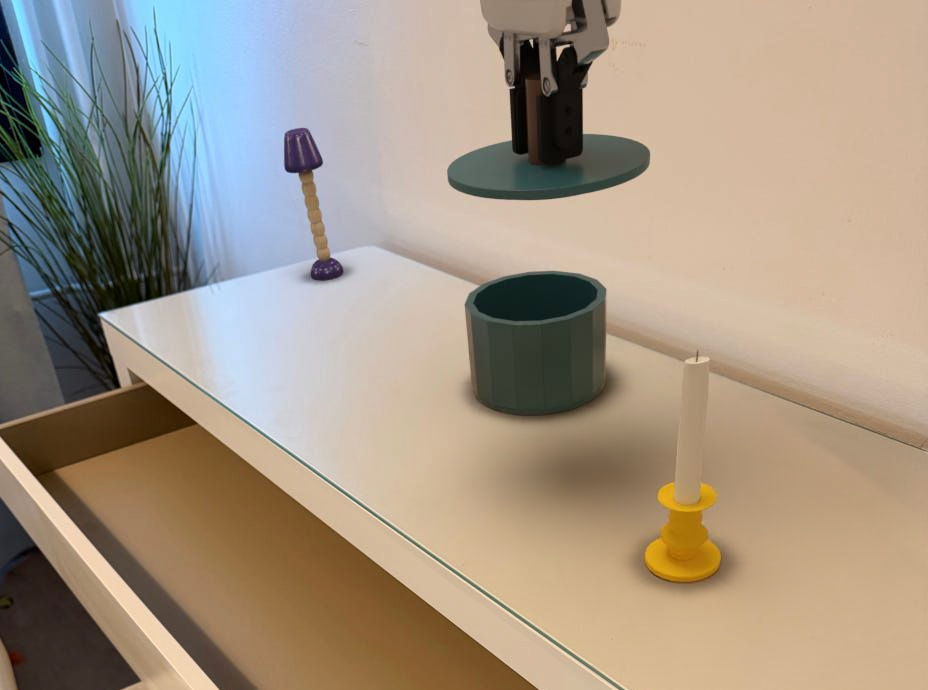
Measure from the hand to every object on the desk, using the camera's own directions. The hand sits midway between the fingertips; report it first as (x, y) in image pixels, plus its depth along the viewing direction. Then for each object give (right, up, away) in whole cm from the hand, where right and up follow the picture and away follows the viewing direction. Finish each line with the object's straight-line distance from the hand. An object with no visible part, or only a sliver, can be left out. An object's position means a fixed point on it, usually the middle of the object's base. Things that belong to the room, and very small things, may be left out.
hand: (547, 152), depth 63 cm
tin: (+2, -9, +26) cm, 27 cm away
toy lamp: (-23, +14, +56) cm, 62 cm away
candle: (+10, -28, +3) cm, 30 cm away
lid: (0, -1, +1) cm, 1 cm away
